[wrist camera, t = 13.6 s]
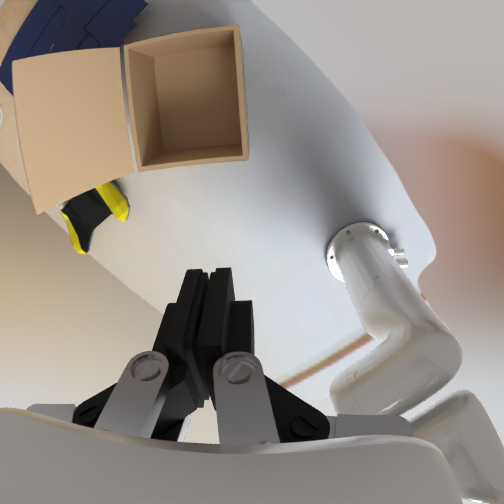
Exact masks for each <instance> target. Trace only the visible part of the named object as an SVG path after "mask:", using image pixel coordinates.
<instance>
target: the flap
mask: <svg viewBox="0 0 504 504" xmlns="http://www.w3.org/2000/svg"><path fill="white" fill-rule="evenodd" d="M12 82H13V97H14V108H15V116H16V124H17V131H18V138H19V144H20V150H21V155H22V160H23V165H24V170H25V174H26V179H27V183H28V187H29V191H30V195H31V198H32V202H33V206H34V209H35V212H36V214H37V215H38V214H40V213H42V212H44V211H46V210H48V209H50V208H52V207H54V206H56V205H58V204H60V203H62V202H64V201H66V200H69V199H71V198H73V197H75V196H77V195H79V194H82V193H84V192H86V191H88V190H91V189H93V188H95V187H98V186H100V185H102V184H105V183H107V182H109V181H112V180H114V179H117V178H119V177H122V176H124V175H127V174H129V173H132V172H134V169H133V163H132V157H131V151H130V144H129V137H128V130H127V123H126V115H125V107H124V97H123V88H122V76H121V63H120V47H115V48H96V49H84V50H74V51H66V52H58V53H51V54H45V55H39V56H34V57H29V58H24V59H19V60H15V61H13V62H12Z"/></svg>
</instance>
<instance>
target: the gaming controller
mask: <svg viewBox="0 0 504 504" xmlns="http://www.w3.org/2000/svg"><path fill="white" fill-rule="evenodd" d="M60 211H61V214H62V215H63V217H64V218H65V219H66V222H67V226H68V230H69V234H70V237H71V241H72V245H73V247H74V249H75V250H76V252H77V253H80V254H85V253H87V252H88V251H89V250H90V245H91V240H92V236H93V232H94V230H95V228H96V227H97V226H98V225H99V224H100V223H101V222H103V221H104V220H105V219H106V218H107V217H108V216H110V215H111V214H114V215H115V217H116V218H117V219H118V220H120V221H122V222H124V221H126V220H127V218H128V216H129V211H130V205H129V202H128V199H127V197H126V196H125V195H124V194H123V192H122V191H121V190H120V189H119V188H118V187H117V186H116V185H115V184H114V183H113V182H111V181H109V182H107V183H105V184H102V185H100V186H98V187H95V188H93V189H91V190H88V191H86V192H84V193H82V194H79V195H77V196H75V197H73V198H71V199H69V200H68V201H67V203H66V204H63V205H61V206H60Z"/></svg>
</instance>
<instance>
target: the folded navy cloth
mask: <svg viewBox="0 0 504 504" xmlns="http://www.w3.org/2000/svg"><path fill="white" fill-rule="evenodd" d="M147 5H148V4H147V3H146V2H145V1H144V0H38V2H37V3H36V5H35V6H34V8H33V9H32V11H31V12H30V14H29V15H28V17H27V18H26V20H25V21H24V23H23V25H22V26H21V28H20V30H19V31H18V33H17V35H16V36H15V38H14V40H13V42H12V44H11V45H10V47H9V49H8V52H7V54H6V56H5V58H4V60H3V62H2V65H1V67H0V81H1V83H2V84H3V85H4V86H5V87H6V89H7V90H8V91H9V92H10V93H11V94H12V96H13V82H12V62H13V61H15V60H19V59H24V58H29V57H34V56H39V55H45V54H51V53H58V52H66V51H74V50H84V49H96V48H115V47H120V46H121V44H122V43H123V42H124V41H123V39H124V38H125V37H126V35H127V34H128V33H129V32H130V31H131V30H132V29H133V28H134V27H135V26H136V24H137V23H136V22H134V21H133V19H134V18H135V17H136V16H137V15H138V14H139V13H140V12H141V11H142V10H143V9H144V8H145V7H146V6H147Z"/></svg>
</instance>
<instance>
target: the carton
mask: <svg viewBox="0 0 504 504" xmlns="http://www.w3.org/2000/svg"><path fill="white" fill-rule="evenodd" d="M124 60H125V74H126V85H127V95H128V104H129V113H130V121H131V129H132V136H133V143H134V149H135V156H136V162H137V168H138V172H142V171H148V170H156V169H163V168H171V167H179V166H188V165H197V164H207V163H218V162H230V161H244V160H248V156H249V138H248V124H247V109H246V95H245V82H244V68H243V54H242V42H241V36H240V31H239V25H231V26H221V27H212V28H204V29H197V30H191V31H185V32H179V33H174V34H169V35H164V36H159V37H155V38H151V39H146V40H142V41H138V42H135V43H131V44H127V45H124Z"/></svg>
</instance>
